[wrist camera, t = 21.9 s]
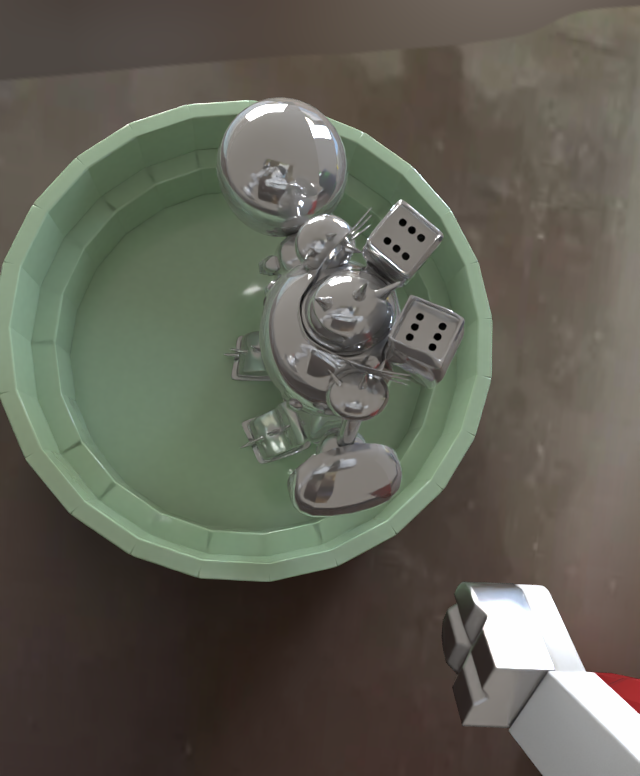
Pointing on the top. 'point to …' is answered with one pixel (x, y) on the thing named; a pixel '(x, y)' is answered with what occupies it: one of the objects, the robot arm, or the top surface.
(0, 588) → the top surface
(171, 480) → the bowl
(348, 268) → the robot toy
